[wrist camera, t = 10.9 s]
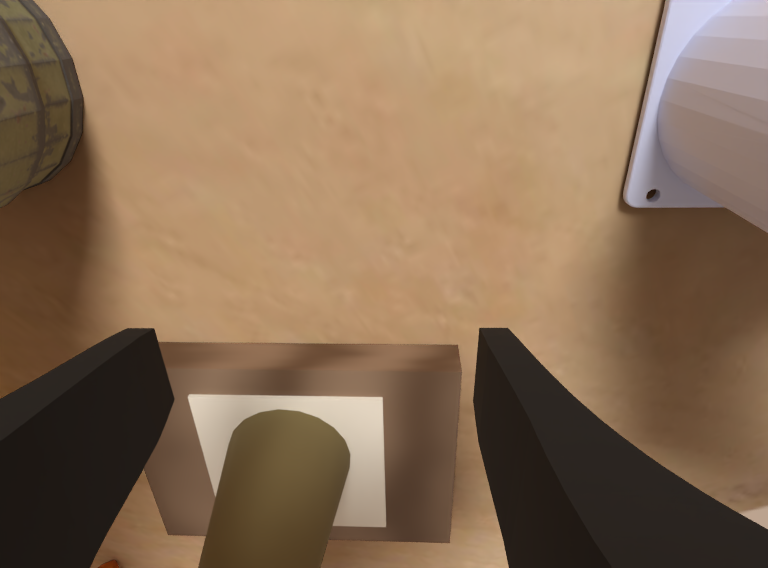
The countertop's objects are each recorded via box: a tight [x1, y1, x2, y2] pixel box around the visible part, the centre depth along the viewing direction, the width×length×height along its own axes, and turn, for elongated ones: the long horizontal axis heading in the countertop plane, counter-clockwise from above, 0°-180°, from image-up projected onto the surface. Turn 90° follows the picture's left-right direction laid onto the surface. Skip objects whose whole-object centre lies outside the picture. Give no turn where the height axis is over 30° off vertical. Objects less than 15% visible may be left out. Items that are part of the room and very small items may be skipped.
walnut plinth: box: [144, 342, 462, 543], centre depth 25 cm, size 16×12×2 cm
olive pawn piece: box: [198, 409, 351, 568], centre depth 19 cm, size 6×6×11 cm
